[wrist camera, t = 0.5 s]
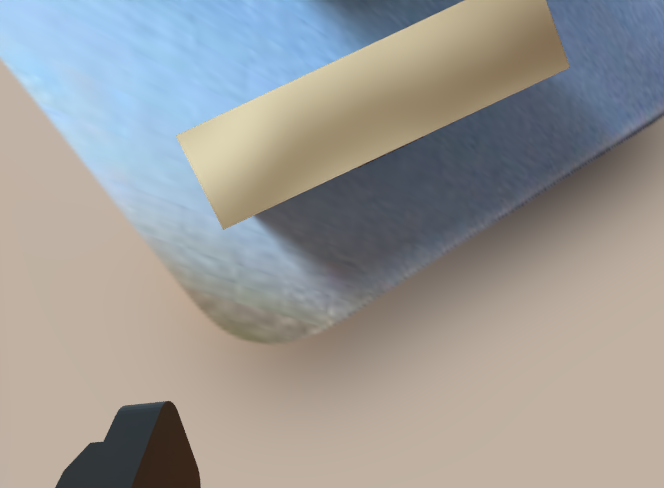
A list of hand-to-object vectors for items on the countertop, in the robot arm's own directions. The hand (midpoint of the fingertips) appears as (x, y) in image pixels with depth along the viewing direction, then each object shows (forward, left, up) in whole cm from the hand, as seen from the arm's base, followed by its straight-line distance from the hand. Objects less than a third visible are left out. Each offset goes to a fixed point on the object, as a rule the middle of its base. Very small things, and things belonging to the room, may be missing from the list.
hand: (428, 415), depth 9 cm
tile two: (-5, +4, -24) cm, 25 cm away
